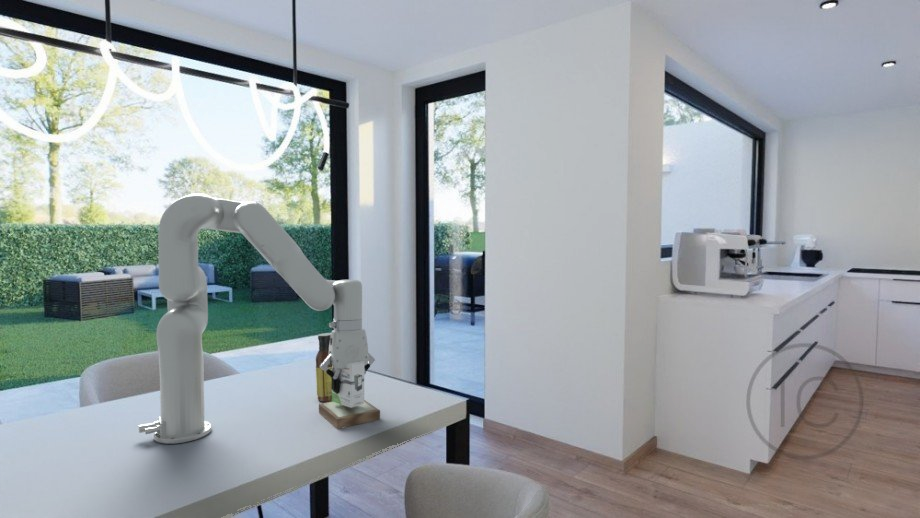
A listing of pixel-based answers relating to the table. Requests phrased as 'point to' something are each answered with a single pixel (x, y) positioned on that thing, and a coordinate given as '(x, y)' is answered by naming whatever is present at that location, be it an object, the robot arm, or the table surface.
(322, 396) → the sauce bottle
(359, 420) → the wooden tray
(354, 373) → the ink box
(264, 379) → the table surface
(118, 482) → the table surface
